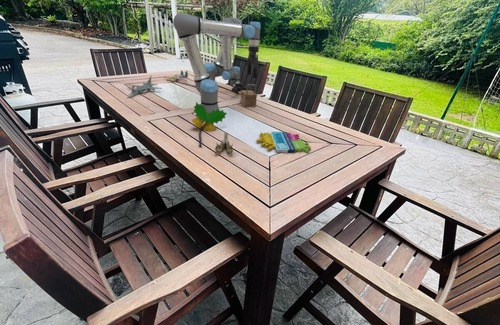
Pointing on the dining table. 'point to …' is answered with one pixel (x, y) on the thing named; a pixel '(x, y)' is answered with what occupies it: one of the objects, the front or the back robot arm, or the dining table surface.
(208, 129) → the ornament
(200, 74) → the front robot arm
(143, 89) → the airplane
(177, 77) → the toy
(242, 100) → the chest
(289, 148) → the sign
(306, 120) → the dining table surface
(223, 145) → the jawbone
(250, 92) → the brown piece
